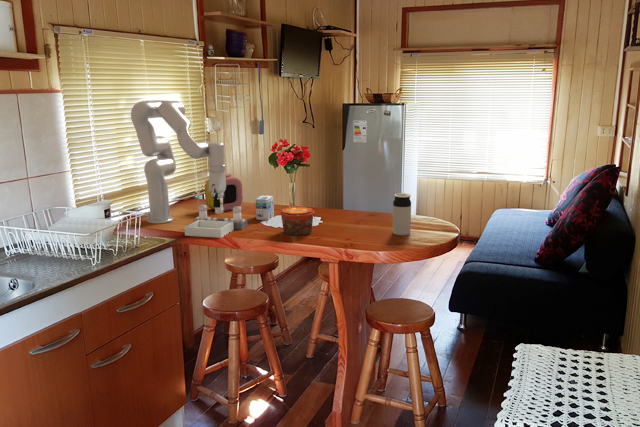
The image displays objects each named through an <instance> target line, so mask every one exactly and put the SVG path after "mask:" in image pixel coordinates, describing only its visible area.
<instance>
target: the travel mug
mask: <svg viewBox="0 0 640 427" xmlns="http://www.w3.org/2000/svg"><path fill="white" fill-rule="evenodd" d="M393 196H394V199H393V201H392V202H393V203H392V206H393V207H392V208H393V209H392V233H393V234H394V235H396V236H408V235H410V234H411V228H412V227H411V220H412V219H411V218H412V201H411V196H412V195H411V194H410V193H401V192H400V193H395V194H393Z"/></svg>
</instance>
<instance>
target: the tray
mask: <svg viewBox="0 0 640 427" xmlns="http://www.w3.org/2000/svg"><path fill="white" fill-rule="evenodd" d="M183 228H184V236H186V237H187V236H189V237H202V238H217V239H218V238H219V239H221V238H223V237H225V236H226V234H227V235H228V234H229V232H230V233H232V232H233V231H234V230H235V229H234V225H233V222H228V221H209V220H197V221H195V222H194V221H193V222H192V223H190V224H188V225H186V226H184V227H183ZM224 235H225V236H224Z"/></svg>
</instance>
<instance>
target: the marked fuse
mask: <svg viewBox="0 0 640 427" xmlns="http://www.w3.org/2000/svg"><path fill="white" fill-rule="evenodd" d="M215 193H217V192H215ZM215 195H217V194H215ZM219 199H220V208H216V207H215V209H214V214H216V215H217V214H224V213H225V211H223V192H220V193H219Z"/></svg>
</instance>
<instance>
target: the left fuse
mask: <svg viewBox="0 0 640 427" xmlns="http://www.w3.org/2000/svg"><path fill="white" fill-rule="evenodd" d="M197 209H198V217H199V220H207V218H208V206H207V204H198V208H197Z"/></svg>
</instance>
